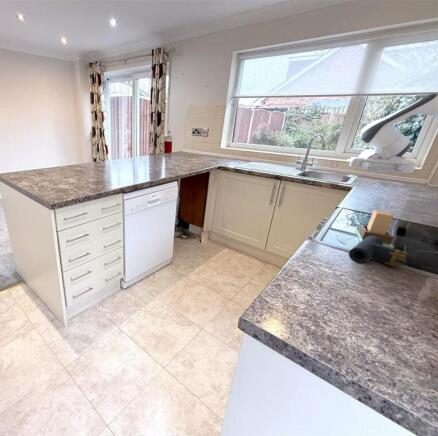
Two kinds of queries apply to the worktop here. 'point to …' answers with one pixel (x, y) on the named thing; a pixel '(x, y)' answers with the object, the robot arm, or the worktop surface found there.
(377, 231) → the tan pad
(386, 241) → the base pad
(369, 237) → the pipe connector
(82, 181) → the worktop surface
